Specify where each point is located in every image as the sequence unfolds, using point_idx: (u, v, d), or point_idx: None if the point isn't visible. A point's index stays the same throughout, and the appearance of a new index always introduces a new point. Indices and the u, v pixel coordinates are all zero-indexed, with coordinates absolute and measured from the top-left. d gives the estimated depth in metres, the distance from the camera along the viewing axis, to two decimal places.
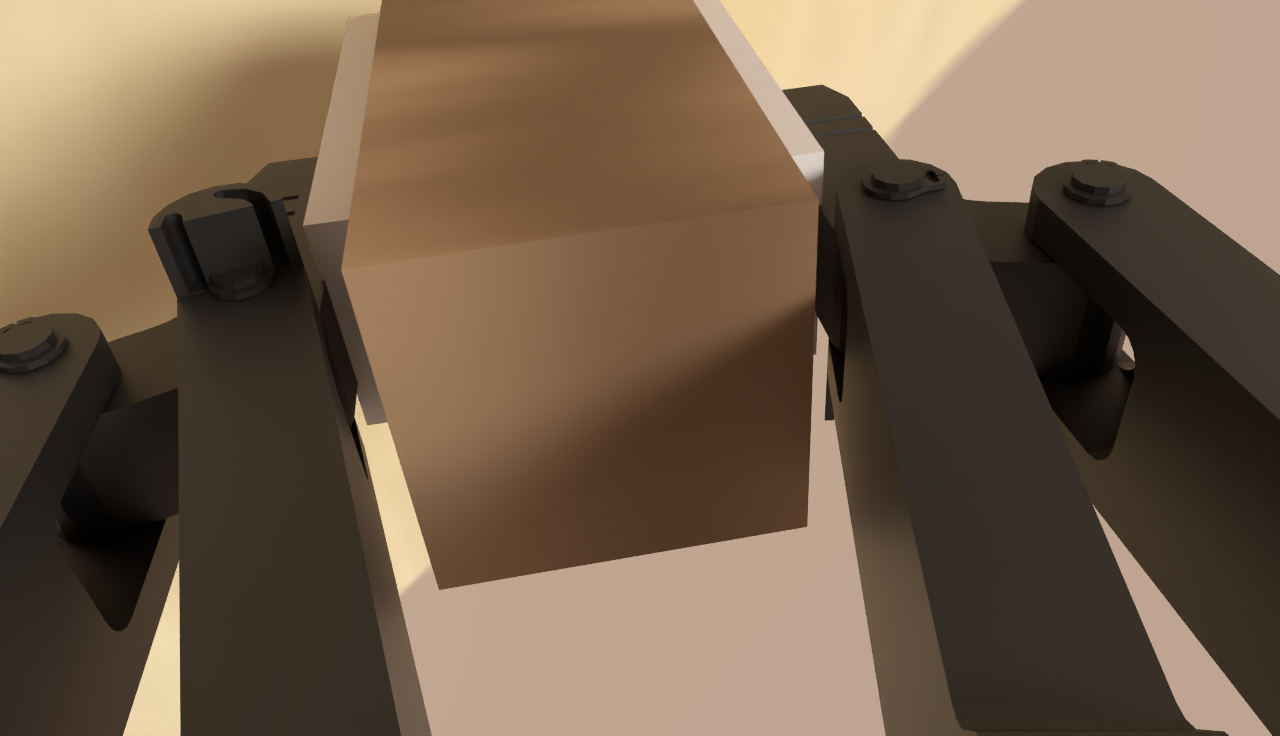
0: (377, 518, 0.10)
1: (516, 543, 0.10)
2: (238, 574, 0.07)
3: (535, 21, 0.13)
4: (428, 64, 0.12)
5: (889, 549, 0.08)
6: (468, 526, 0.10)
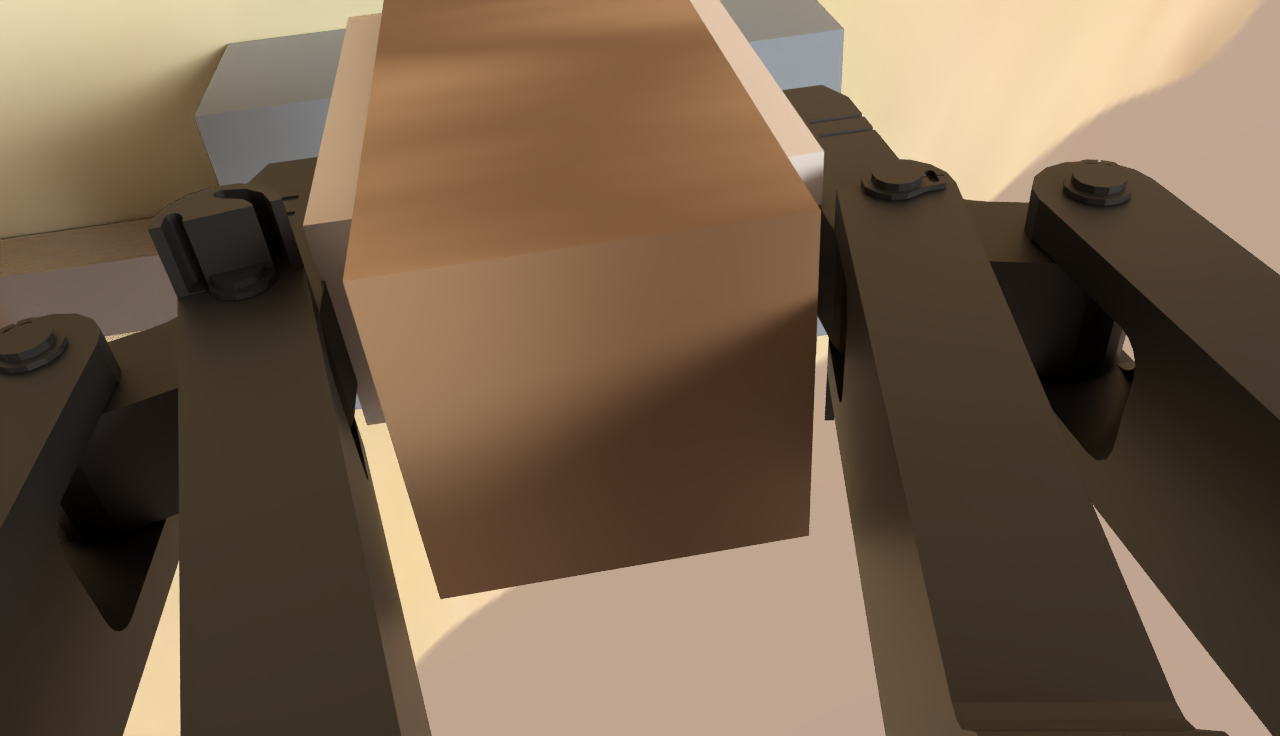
0: (377, 518, 0.10)
1: (517, 553, 0.10)
2: (238, 574, 0.07)
3: (536, 29, 0.13)
4: (429, 72, 0.12)
5: (889, 549, 0.08)
6: (469, 536, 0.10)
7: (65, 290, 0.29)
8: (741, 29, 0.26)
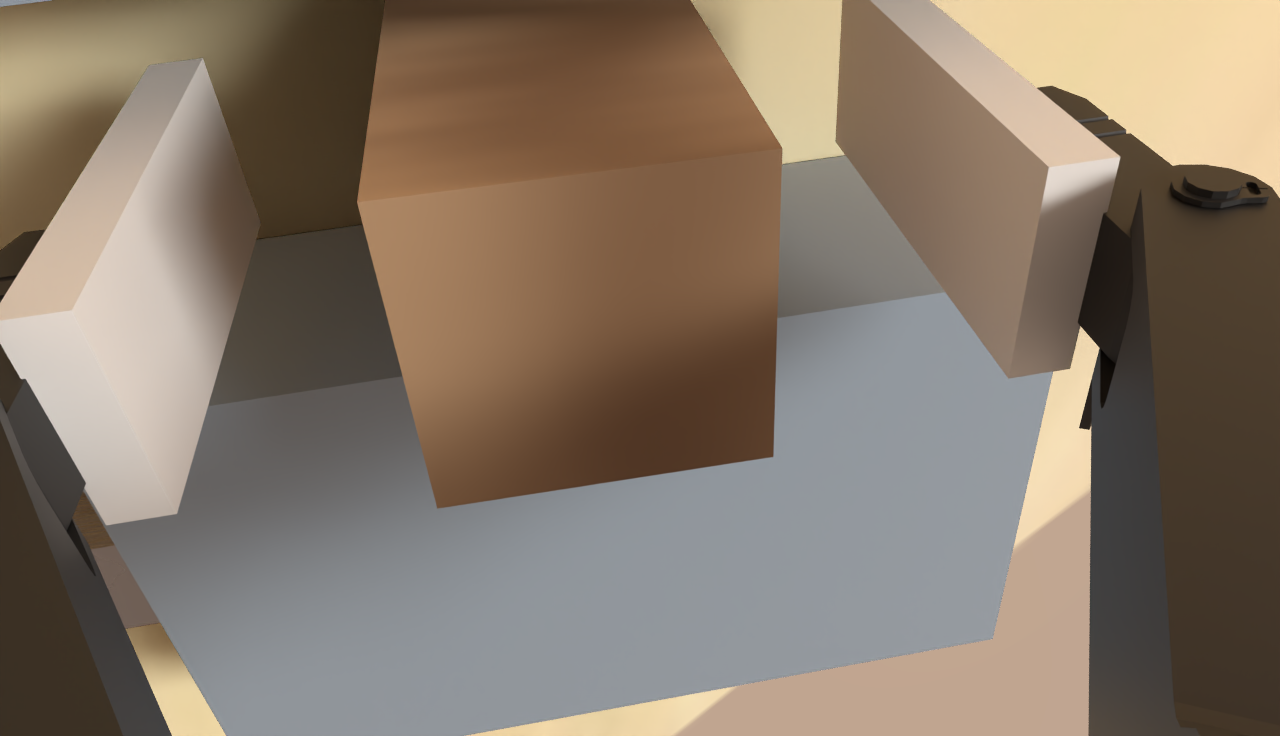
0: (113, 614, 0.09)
1: (508, 465, 0.11)
2: None
3: None
4: (432, 31, 0.13)
5: (1130, 553, 0.07)
6: (465, 447, 0.11)
7: None
8: (909, 264, 0.17)
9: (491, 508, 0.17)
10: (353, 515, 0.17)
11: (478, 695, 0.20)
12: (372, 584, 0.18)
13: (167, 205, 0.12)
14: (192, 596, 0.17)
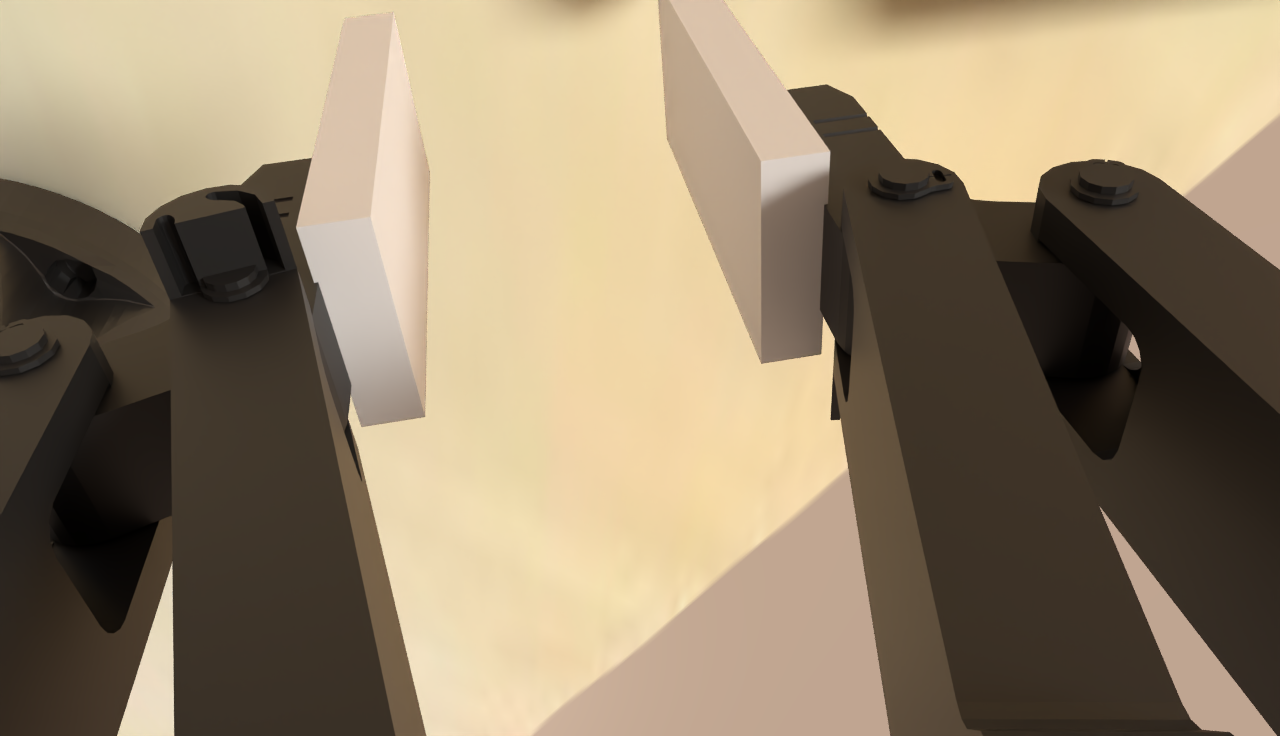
0: (371, 519, 0.10)
1: None
2: (232, 576, 0.07)
3: None
4: None
5: (895, 548, 0.08)
6: None
7: None
8: None
9: None
10: None
11: None
12: None
13: (394, 140, 0.13)
14: None
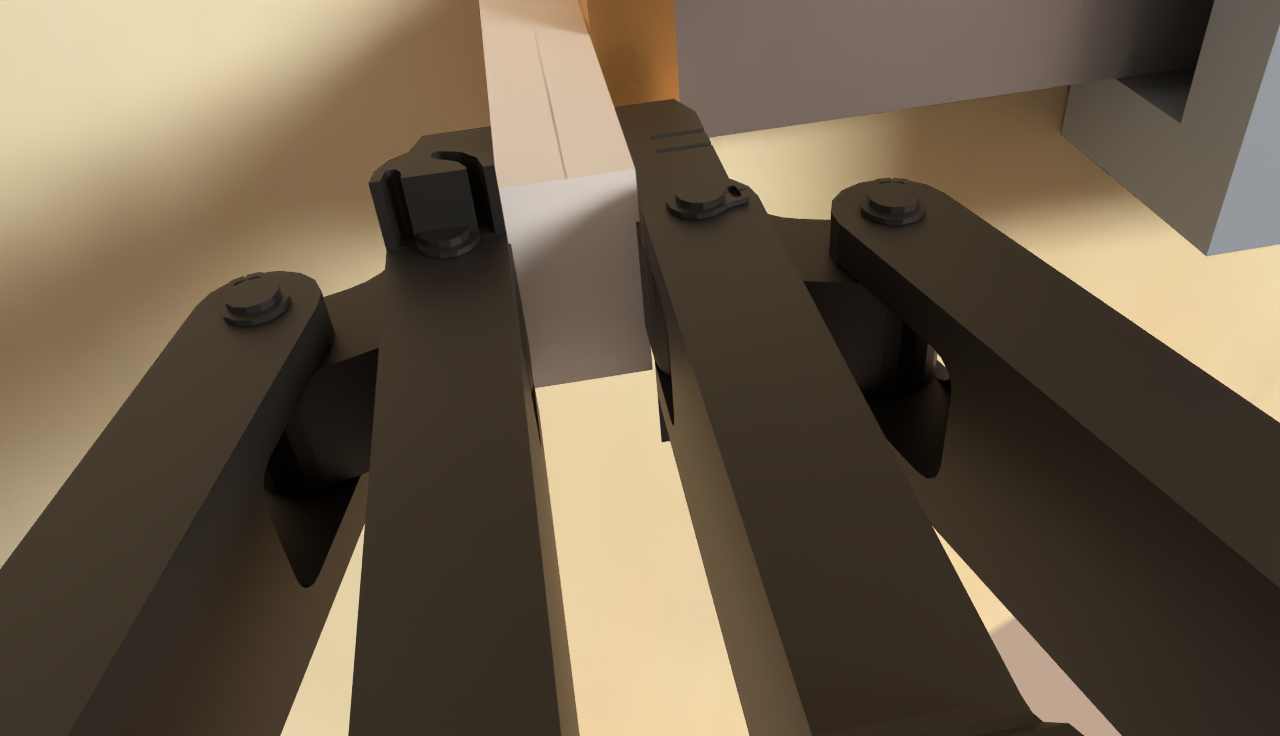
0: (546, 486, 0.10)
1: None
2: (419, 526, 0.07)
3: None
4: None
5: (736, 575, 0.08)
6: None
7: (846, 19, 0.16)
8: None
9: None
10: None
11: None
12: None
13: None
14: None
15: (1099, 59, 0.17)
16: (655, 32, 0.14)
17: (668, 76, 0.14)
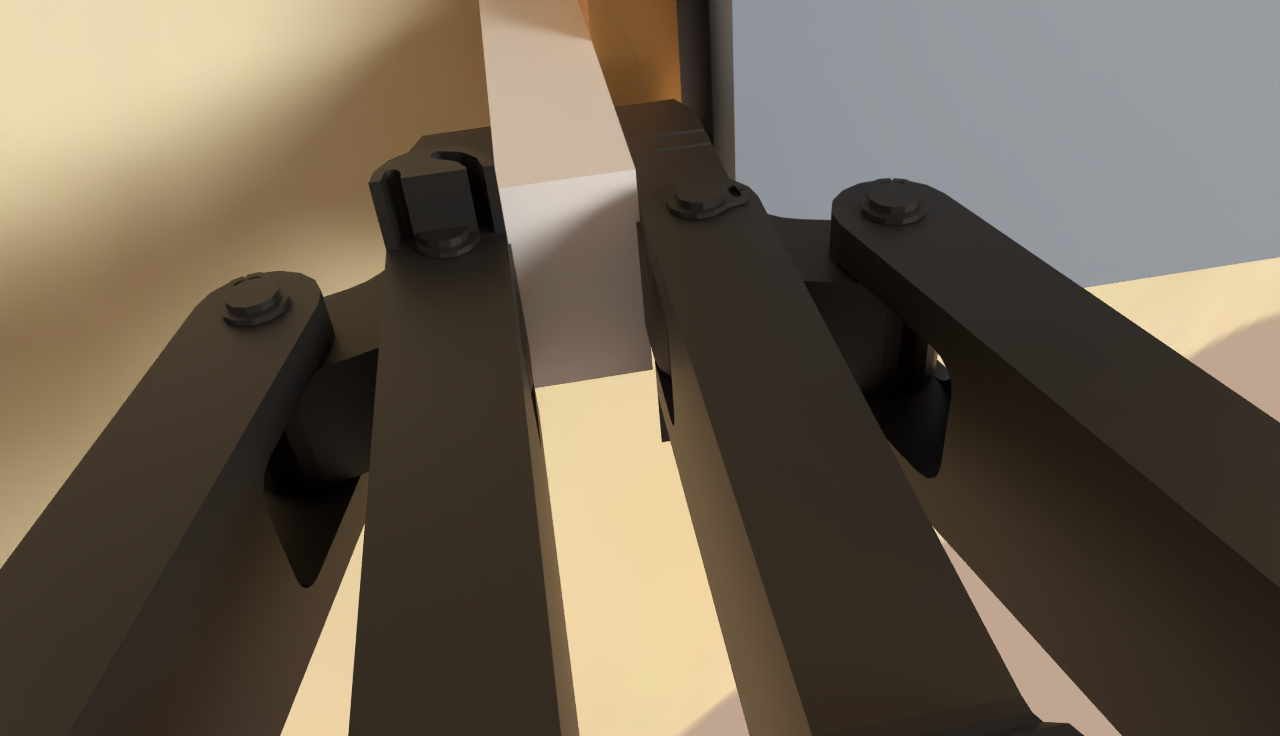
0: (546, 486, 0.10)
1: None
2: (418, 526, 0.07)
3: None
4: None
5: (736, 575, 0.08)
6: None
7: None
8: None
9: None
10: None
11: (1046, 227, 0.16)
12: None
13: None
14: None
15: None
16: (657, 38, 0.14)
17: (670, 83, 0.14)
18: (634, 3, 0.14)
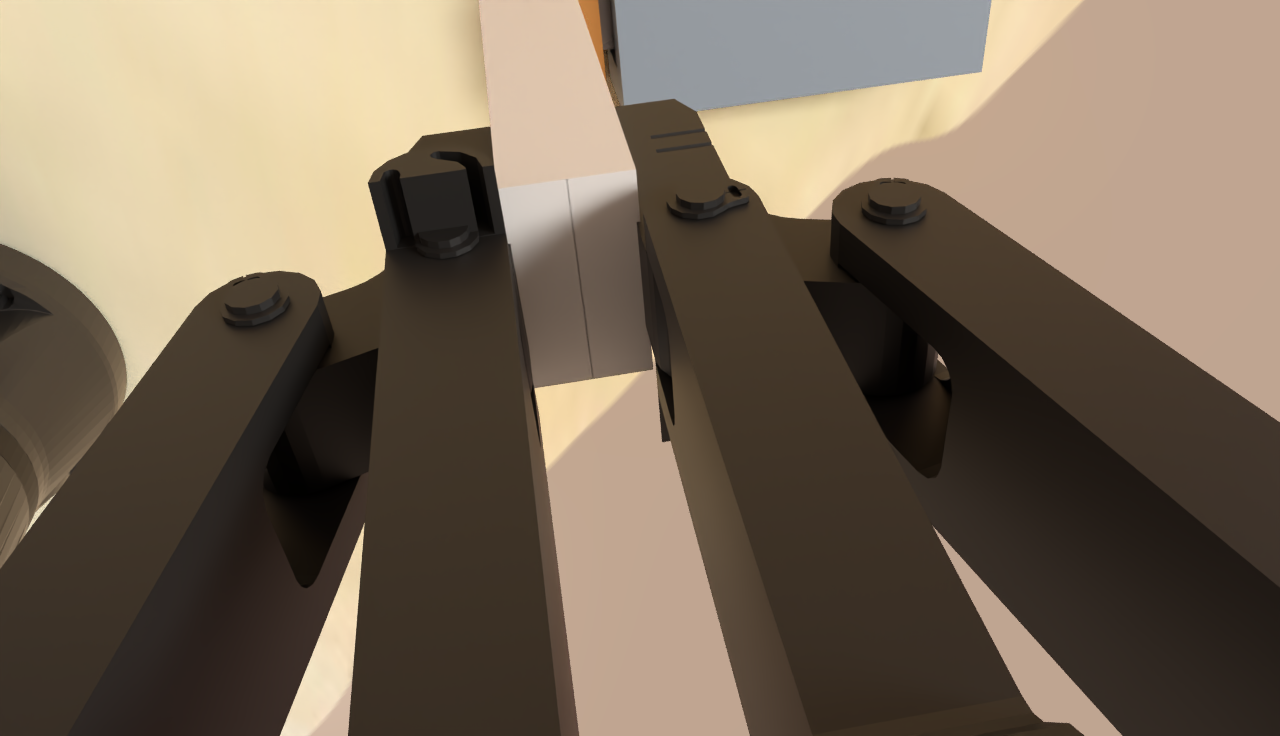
0: (546, 486, 0.10)
1: None
2: (419, 526, 0.07)
3: None
4: None
5: (736, 575, 0.08)
6: None
7: None
8: None
9: None
10: None
11: (737, 77, 0.43)
12: None
13: None
14: None
15: None
16: (591, 5, 0.41)
17: (596, 21, 0.41)
18: None
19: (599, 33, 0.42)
